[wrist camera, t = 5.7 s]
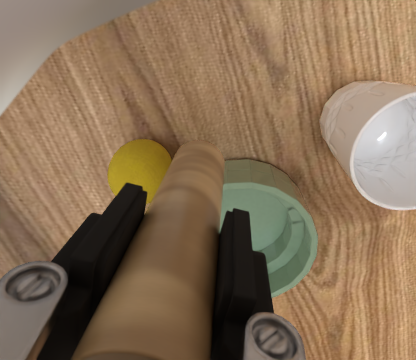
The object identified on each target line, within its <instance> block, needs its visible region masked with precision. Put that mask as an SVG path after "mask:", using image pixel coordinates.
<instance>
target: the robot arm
mask: <svg viewBox="0 0 416 360" xmlns="http://www.w3.org/2000/svg"><path fill="white" fill-rule="evenodd" d="M146 200H147V191H143V187H142V186H140V185H135V184H131V183H125V185H124V186H123V187H122V189H121V190H120V191H119V193H118V194H117V195H116V197H115V198H114V199H113V201H112V202H111V203H110V205H109V206H108V207H107V208H106V210H105V211H104V212H103V214H102V215H101V214H96V213H91V214H90V215H89V216H88V217H87V219H86V220H85V221H84V222H83V223H82V225H81V226H80V227H79V228H78V230H77V231H76V232H75V233H74V234H73V236H72V237H71V238H70V239H69V240H68V242H67V243H66V244H65V245H64V246H63V248H62V249H61V250H60V251H59V253H58V254H57V255H56V256H55V257H54V259H53V260H52V261H51V262H49V261H35V262H28V263H25V264H22V265H19V266H17V267H15V268H14V269H12V270H10V271H9V272H8V273H6V274H5V275H4V276H3V277H2V278H1V279H0V360H70V359H71V357H72V355H73V353H74V351H75V349H76V347H77V345H78V344H79V342H80V340H81V338H82V336H83V334H84V332H85V330H86V328H87V326H88V324H89V322H90V320H91V318H92V316H93V314H94V312H95V310H96V308H97V306H98V304H99V303H100V301H101V299H102V297H103V295H104V293H105V291H106V289H107V287H108V285H109V283H110V281H111V279H112V277H113V275H114V273H115V271H116V269H117V268H118V266H119V264H120V262H121V260H122V258H123V256H124V254H125V252H126V250H127V248H128V246H129V244H130V242H131V240H132V238H133V236H134V234H135V232H136V230H137V228H138V226H139V225H140V223H141V221H142V219H143V217H144V213H145V206H146ZM210 360H306V357H305V350H304V345H303V342H302V338H301V336H300V335H299V333H298V331H297V330H296V328H295V327H294V326H293V325H292V324H291V323H290V322H289V321H287V320H286V319H284V318H283V317H281V316H279V315H276V314H274V310H273V304H272V297H271V290H270V283H269V276H268V269H267V262H266V256H265V254H264V253H262V252H258V251H254V250H253V248H252V237H251V226H250V214H249V211H244V210H240V209H236V208H233V210H232V212H231V211H226V214H225V218H224V221H223V224H222V228H221V231H220V235H219V249H218V262H217V275H216V289H215V302H214V316H213V332H212V346H211V359H210Z"/></svg>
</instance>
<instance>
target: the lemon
mask: <svg viewBox="0 0 416 360" xmlns="http://www.w3.org/2000/svg"><path fill="white" fill-rule="evenodd" d="M171 162H172V159H171V157H170V155H169V153H168V152H167V150H166V149H165V148H164V147H163V146H162V145H160V144H159V143H157V142H155V141H152V140H148V139H137V140H134V141H130V142H128V143H127V144H125V145H123V146H122V147H120V149H119V150H118V151H117V152H116V153H115V154H114V156H113V158H112V160H111V162H110V164H109V168H108V174H107V175H108V183H109V186H110V188H111V190H112V192H113V193H114V195H115V196H116V195H117V194H118V193H119V191H120V190H121V189H122V187H123V186H124V185H125V183H131V184H135V185H140V186H142V187H143V191H147V200H146V204H148V203H150V202H151V201H152V199H153V197H154V195H155V193H156V191H157V189H158V187H159V185H160V183H161V181H162V180H163V178H164V176H165V174H166V172H167V170H168V168H169V166H170V164H171Z"/></svg>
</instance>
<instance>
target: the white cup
mask: <svg viewBox="0 0 416 360" xmlns="http://www.w3.org/2000/svg"><path fill="white" fill-rule="evenodd" d="M319 122H320V127H321V133H322V137H323V138H324V140H325V141H326V142H327V144H328V146H329V148H330V150H331V152H332V154H333V155H334V157H335V158H336V160H337V161H338V163H339V164H340V166H341V167H342V169H343V170H344V171H345V173H346V174H347V175H348V177H349V178H350V180H351V181H352V182H353V184H354V185H355V187H356V188H357V190H358V191H359V192H360V193H361V194H362V195H363V196H364V197H365V198H366V199H367V200H369V201H370V202H372V203H374V204H376V205H378V206H380V207H383V208H387V209H393V210H413V209H416V85H411V84H405V83H396V82H386V81H373V80H368V81H355V82H352V83H350V84H348V85H346V86H344V87H342V88H340V89H338V90H336V91H335V93H334V94H333V95H332V96H331V97H330V99H329V100H328V101H327V102H326V103H325V105H324V107H323V111H322V114H321V117H320V121H319Z"/></svg>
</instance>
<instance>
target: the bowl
mask: <svg viewBox="0 0 416 360" xmlns="http://www.w3.org/2000/svg"><path fill="white" fill-rule="evenodd" d="M233 208H236V209H240V210H244V211H249V214H250V226H251V237H252V248H253V250H254V251H258V252H262V253H264V254H265V256H266V262H267V269H268V276H269V283H270V290H271V297H272V298H273V297H276V296H278V295H280V294H282V293H284V292H286V291H288V290H289V289H291V288H293V287H295V286H296V285H297V284H298V283H299V282H300V281H301V280H302V279H303V278H304V277H305V276H306V275H307V274H308V272H309V270H310V268H311V266H312V264H313V262H314V260H315V258H316V255H317V244H318V234H317V231H316V228H315V225H314V222H313V219H312V217H311V214H310V212H309V210H308V208H307V205H306V203H305V201H304V199H303V196H302V194H301V192H300V190H299V188H298V187H297V186H296V185H295V183H294V182H293V181H292V180H291V179H290V177H289V176H288V175H287V174H285V173H284V172H282V171H280V170H279V169H277V168H275V167H274V166H272V165H270V164H267V163H263V162H259V161H255V160H251V159H243V160H227V161H225V168H224V182H223V195H222V209H221V223H220V231H221V228H222V224H223V221H224V218H225V214H226V211H231V212H232V210H233Z"/></svg>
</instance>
